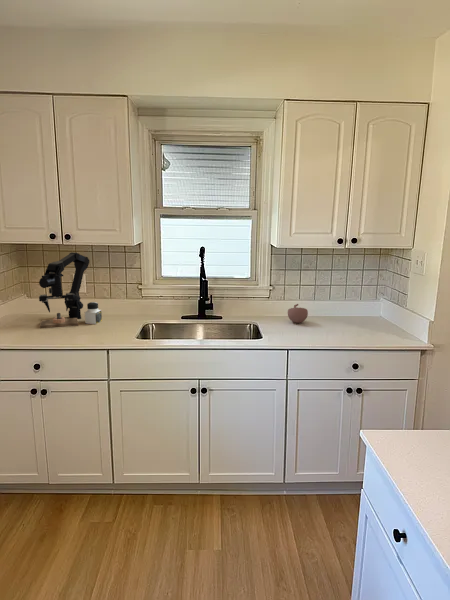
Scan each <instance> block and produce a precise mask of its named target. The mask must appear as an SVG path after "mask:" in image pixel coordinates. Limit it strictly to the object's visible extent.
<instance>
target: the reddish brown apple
mask: <svg viewBox="0 0 450 600" xmlns="http://www.w3.org/2000/svg"><path fill="white" fill-rule="evenodd" d="M298 306H299V303H297V304H294V306H293V307H290V308H289V309H288V310H287V317H288V319H289V320H290V321H291V322H292V323H295V324H300V323H303V322H305V321H306V320H307V318H308V315H309V311H308V308H305V307H298Z"/></svg>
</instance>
